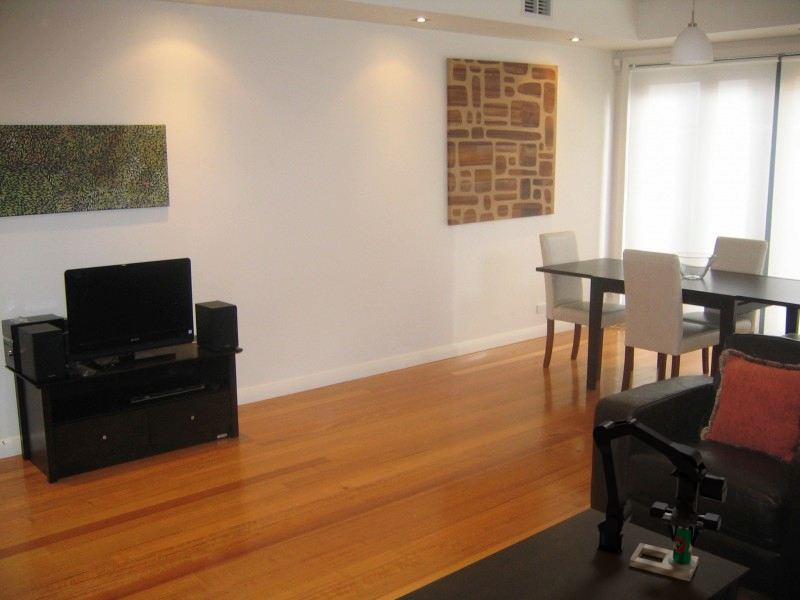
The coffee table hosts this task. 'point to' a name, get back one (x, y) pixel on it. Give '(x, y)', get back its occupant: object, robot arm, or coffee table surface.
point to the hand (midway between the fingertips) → (683, 543)
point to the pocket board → (663, 562)
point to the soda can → (683, 544)
